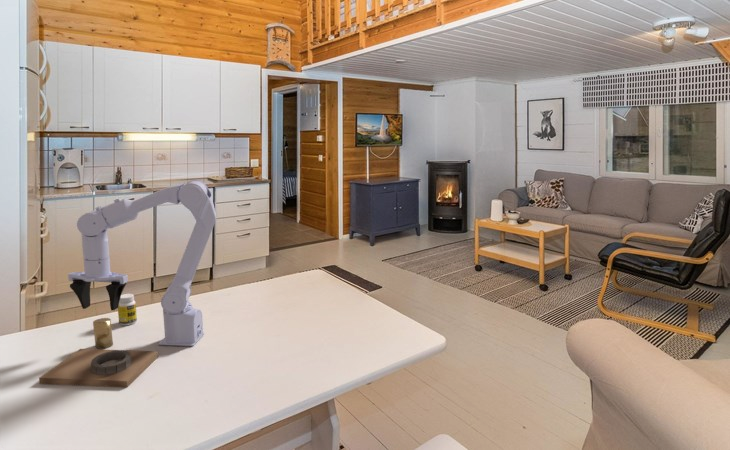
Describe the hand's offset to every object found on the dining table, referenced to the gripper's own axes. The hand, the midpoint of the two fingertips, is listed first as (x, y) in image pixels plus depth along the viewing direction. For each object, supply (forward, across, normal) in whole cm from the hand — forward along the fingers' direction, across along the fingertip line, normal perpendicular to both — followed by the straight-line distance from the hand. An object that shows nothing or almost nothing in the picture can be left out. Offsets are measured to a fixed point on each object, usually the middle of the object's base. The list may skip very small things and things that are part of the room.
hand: (100, 308), depth 117 cm
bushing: (+10, 0, 0) cm, 11 cm away
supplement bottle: (+11, -2, +15) cm, 19 cm away
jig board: (+10, +7, -12) cm, 17 cm away
